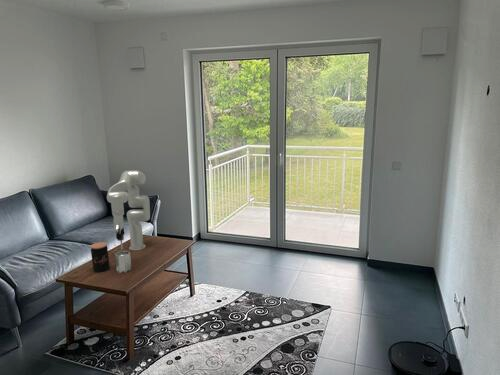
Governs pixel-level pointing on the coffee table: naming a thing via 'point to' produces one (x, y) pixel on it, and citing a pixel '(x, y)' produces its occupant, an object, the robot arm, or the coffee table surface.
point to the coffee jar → (100, 256)
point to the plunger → (122, 247)
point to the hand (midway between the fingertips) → (120, 236)
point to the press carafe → (123, 262)
